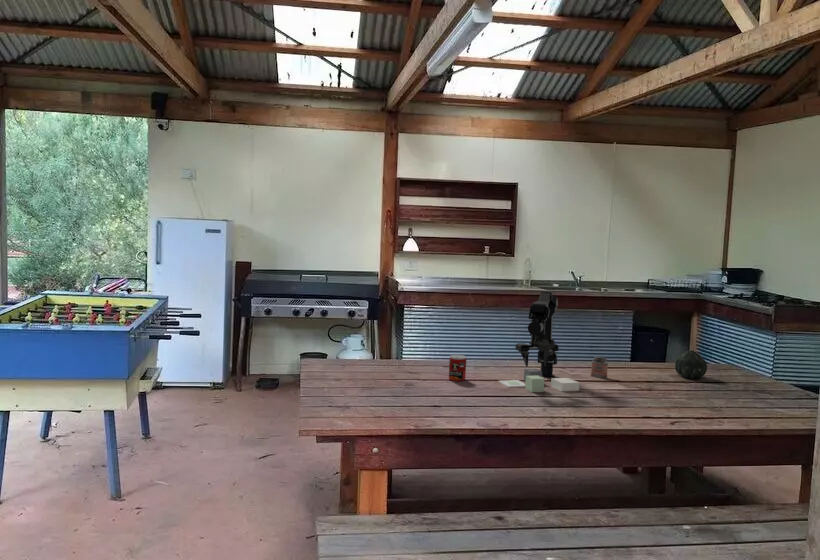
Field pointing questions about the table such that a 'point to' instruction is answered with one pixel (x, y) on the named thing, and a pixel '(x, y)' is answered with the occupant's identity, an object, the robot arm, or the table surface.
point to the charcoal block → (531, 373)
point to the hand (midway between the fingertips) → (536, 366)
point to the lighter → (599, 367)
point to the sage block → (534, 383)
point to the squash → (691, 365)
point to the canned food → (457, 368)
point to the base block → (564, 384)
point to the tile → (512, 383)
